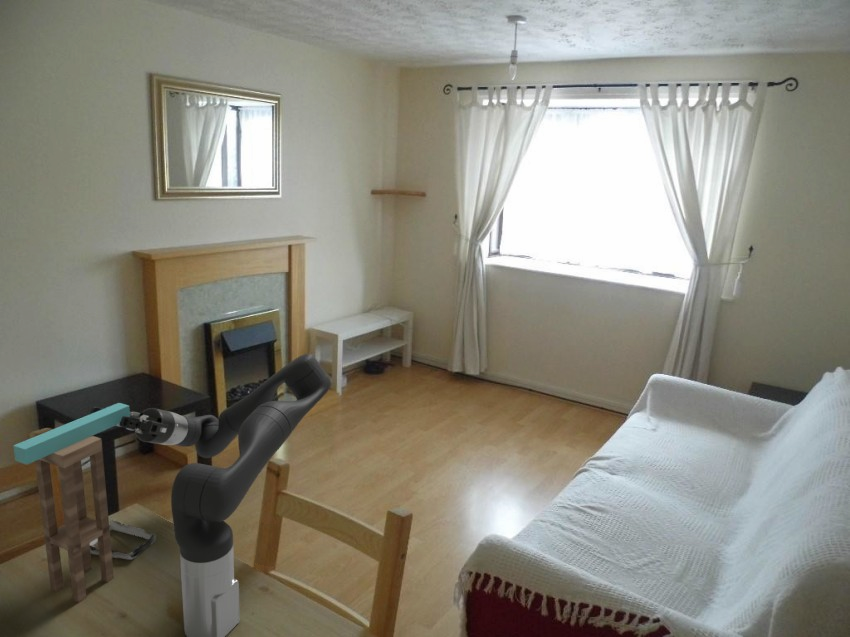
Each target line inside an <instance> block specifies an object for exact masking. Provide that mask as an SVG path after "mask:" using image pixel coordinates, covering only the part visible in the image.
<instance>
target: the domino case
mask: <svg viewBox="0 0 850 637" xmlns="http://www.w3.org/2000/svg"><path fill="white" fill-rule="evenodd" d="M130 410H131V409H130V405H128V404H125V403H121V402H117V403H114V404H112V405H109V406H107V407H106V408H105V409H102V410H100V411H97V412H95V413H92V414H90V413H89V414H90V415H89V414H87V415H85V416H83V417H81V418H78V419H75V420H73V421H71V422H67V423H65V424H62V425H60V426H58V427H55V428H53V429H50V430H48V431H45V432H43V433H41V434H39V435H36V436H33V437H31V438H28V439H26V440H24V441H21V442H18V443H16V444H14V445H13V454H14V461H16V462H18V463H21V464H23V465H26V466H27V465H30V464H32V463H33V462H35V461H36V460H39V459H41V458H43V457H45V456H48V455H50V454H52V453H54V452H57V451H59V450H61V449H63V448H66V447H68V446H70V445H73V444H75V443H77V442H79V441H82V440H84V439H86V438H88V437H91V436H94V435H97V434H100V433H103V432H104V431H106V430H108V429H111V428H113V427H115V425H118V424H120V421H121V419H122V417H123V416H127V417H130V412H131V411H130Z"/></svg>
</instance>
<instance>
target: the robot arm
mask: <svg viewBox="0 0 850 637" xmlns="http://www.w3.org/2000/svg"><path fill="white" fill-rule="evenodd" d="M284 383H285V385H286V386H287V388H288V389H289V390H290V392H291V393H292V394H293V396H294V397H295V399H296V400H272V398H273V397H274V394H275V393H276V391H277V390H278V388H280V387H281V386H282V385H283V384H284ZM331 386H332V382H331V379H330V376H329V375H328V373H327V372H326V371H325V370H324V368H323V367H322V365H321V363H319V361H318V359H317V358H316V357H315V356H314V355H313V354H312V353H304V354H302V355H299V356H298V357H296V358H295V359H293V360H291V361H290V362H289V363H287V364H286V365H284V366H283V367H282V368H280V369H279V370H278V371H276V373H275V372H274V374H272V375H271V376H270V377H269V378H267V379H266V380H265V381H264V382H262V383H261V384H260V385H259V386H257V388H255V389H254V390H252V392H250V393H249V394H248V395H247V396H245V397H243V398H242V399H240V400H239V401H237V402H235V403H233V404H232V405H231V406H229V407H227V408H225V409H224V410H223V411H222V412H220V413H219V416H218V418H217V417H216V416H215V415H213V414H205V415H201V416H194V417H193V416H192V417H191V416H190V417H189V416H186V415H182V414H181V415H180V414H178V413H176V412H173V411H168V410H164V409H159V408H156V407H150V408H146V409H144V410H143V411H141V412H137V411H130V417H127V416H123V417H122V419H121V421H120V424H118V425H115V426H116V427H120V428H124V429H126V430H127V431H132V432H135V436H136V438H137V439H138V440H140V441H142V442H144V443H151V444H158V445H163V446H164V445H165V446H167V445H168V446H177V447H185V448H187V447H193V446H194V447H195V451H196V453H197V455H198V456H199V457H202V458H204V459H205V458H206V459H208V458H209V459H210V458H213V457H216V456H218V455H220V454H221V453H222V452H224V451H225V450H226V449H227V448H228V446H229V445H230V444H231V443H232V442H233V441H234V440H235V439H236V438H237V437H238V438H237V439H238V440H237V441H238V442H237V443H238V450H239V451H238V452H239V456H238V458H237V459H236V460H235V462H233V464H232V465H230V466H227V467H220V466H214V465H208V464H203V463H198V462H192V463H188V464H186V465H184V466H183V467H182V468H181V469H180V470H179V471H178V473H177V474H176V476H175V477H174V480H173V484H172V487H171V494H170V495H171V496H170V504H171V505H170V506H171V514H172V515H171V517H172V521H173V522H172V523H173V531H174V532H173V533H174V538H175V541H176V542H175V543H177V546H178V547H179V558H180V572H181V573H180V576H181V577H180V578H181V592H182V596H181V597H182V611H183V612H182V614H183V630H184V634H185V635H186V637H226V636H227V635H228V634H229V633H230V632H231V631H232V630H233V629H234V628H235V627H236V626H237V625H239V623H240V621H241V620H240V618H241V616H240V588H239V586H240V584H239V582H240V581H239V580H238V579H236V578H235V570H234V569H235V563H234V562H235V561H234V557H235V556H234V555H235V554H234V553H235V552H234V534H233V529H232V527H231V525H229V524H228V523H227V522H226V520H228V519H229V518H230V517H231V516H232V515H233V513H235V511H236V510H237V509H238V507H239V505H240V504H241V503H242V501H243V499H244V498H245V496H246V495H247V493H248V492H249V490H250V489H251V487H252V485H253V484H254V482H255V481H256V479H257V478H258V477H259V475H260V473H261V472H262V470H263V469H264V468H265V466H266V465H268V462H270V460H271V459H272V457H273V456H274V455H275V454H276V453H277V451H279V450H280V449H281V447H282V445H284V443H285V442H286V441H287V439H288V438H289V437H290V436H291V434H292V433H293V431H294V430H296V428H297V426H298V425H299V423H300V422H301V421H302V420H303V418H304V417H305V416H306V415H307V414H308V413H309V412H310V411H311V410H312V409H313V408H314V407H315V406H316V405H317V404H318V403H319V402H320V401H321V400H322V399H323V397H324V396H325V395H326V394H327V393H328V392H329V390H330V388H331ZM105 408H107V407H105V406H104V407H97V406H93V407H91V409H90V412H89V414H88V415H90V414H92V413H95V412H97V411H100V410H102V409H105ZM115 426H114V427H115Z"/></svg>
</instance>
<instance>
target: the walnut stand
mask: <svg viewBox="0 0 850 637" xmlns="http://www.w3.org/2000/svg"><path fill="white" fill-rule="evenodd" d="M87 458H89V463H90V464H89V465H90V474H91V483H92V484H91V485H92V494H93V503H94V506H93V507H94V514H95V515H94V516H95V519H94V518H91V517H89V516H88V515H87V506H86V504H87V503H86V494H85V486H84V478H83V477H84V475H83V468H82V466H83V465H82V461H83V460H85V459H87ZM34 462H35V470H36V479H37V488H38V494H39V503H40V511H41V518H42V527H43V535H44V544H45V551H46V559H47V568H48V576H49V583H50V584H49V585H50V590H51V591H52V592H53V591H54V592H55V593H57V592H59V591H60V590H62V589H64V588H65V585H64V584H65V583H64V576H63V567H62V558H61V552H60V548H61V549H64V550H66V551H67V555H68V556H67V557H68V564H69V565H68V566H69V574H70V575H69V576H70V582H71V589H72V590H71V593H72V600H73V601H74V602H76V603H81V602H82V601H84V600H85V599H87V589H86V582H85V573H88V572H89V571H90V570H92V569H93V565H92V554H91V553H90V544H89V543H90V542H92V541H94V540H95V539H97V538H98V541H97V546H98V547H97V548H98V550H99V555H98V557H99V567H100V568H99V569H100V576H101V581H103V582H105V583H109V582H111V581H112V580H113V579H114V578H115V576H114V565H113V563H114V562H113V558H112V551H111V550H112V545H111V544H112V542H111V541H112V540H111V531H110V529H109V525H110V521H109V520H110V519H109V510H108V499H107V489H106V488H107V487H106V486H107V485H106V477H105V466H104V463H105V462H104V453H103V443H102V438H100V437H98V436H94V435H93V436H91V437H88V438H86V439H84V440H82V441H79V442H77V443H75V444H73V445H70V446H68V447H66V448H63V449H61V450H59V451H57V452H54V453H52V454H50V455H48V456H45V457H43V458H41V459H39V460H36V461H34ZM51 465H54V466H57V467H58V475H59V485H60V494H61V503H62V504H61V505H62V510H63V520H64V523H63V524H62V525H59V527H58V524H57V516H56V508H55V499H54V490H53V483H52V482H53V481H52V474H51Z"/></svg>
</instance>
